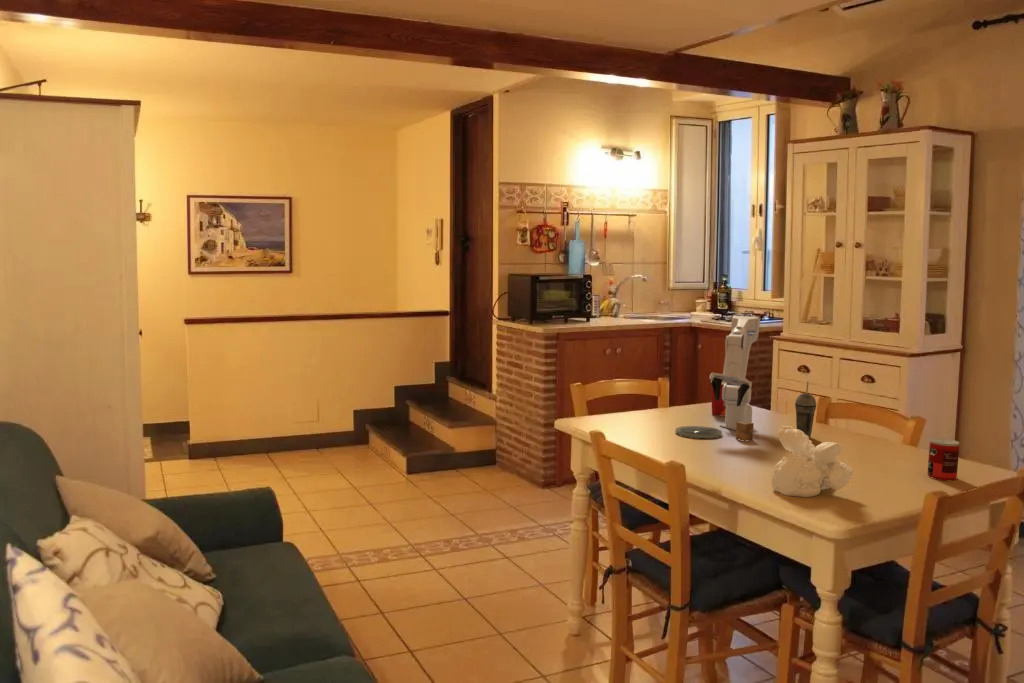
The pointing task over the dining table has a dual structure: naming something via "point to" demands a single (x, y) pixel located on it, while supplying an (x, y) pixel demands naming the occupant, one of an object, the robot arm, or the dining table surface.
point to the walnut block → (744, 430)
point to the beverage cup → (805, 412)
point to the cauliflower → (808, 466)
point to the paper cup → (718, 403)
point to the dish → (698, 432)
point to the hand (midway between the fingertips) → (727, 402)
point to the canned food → (943, 458)
